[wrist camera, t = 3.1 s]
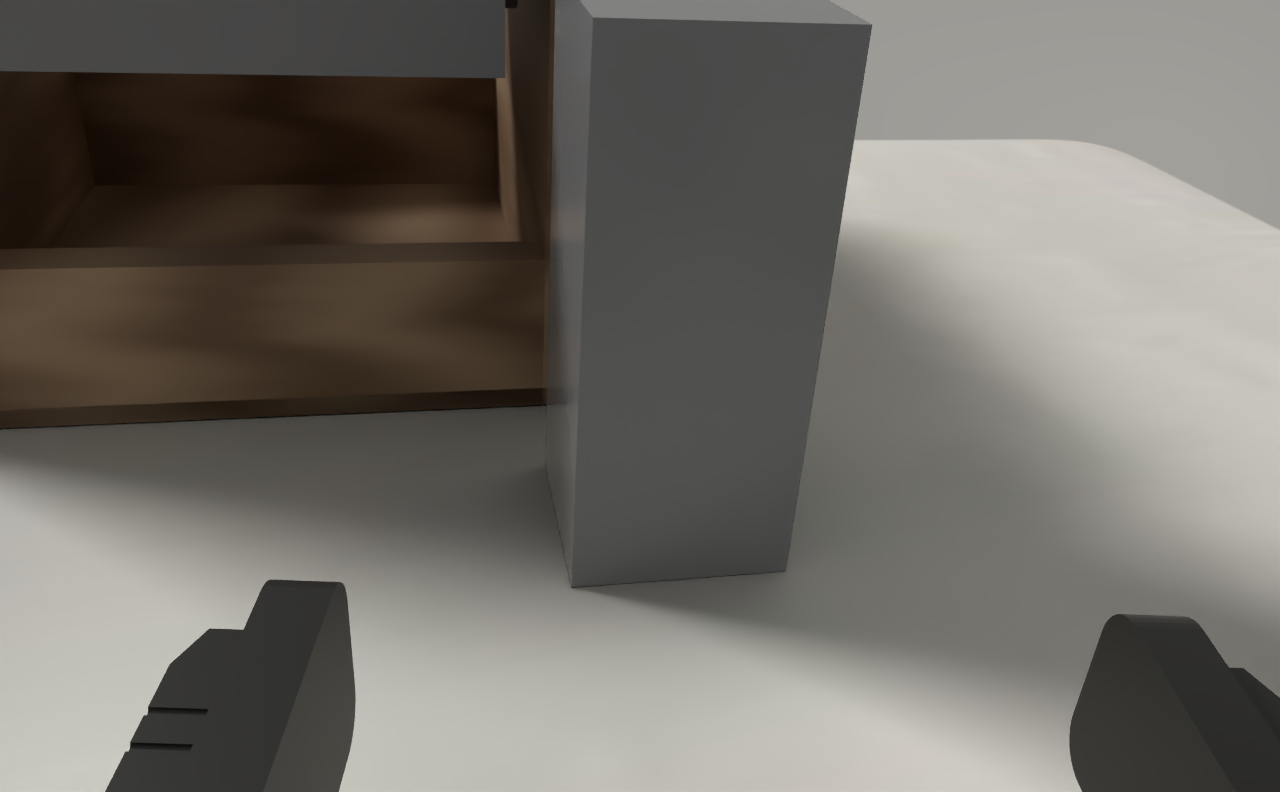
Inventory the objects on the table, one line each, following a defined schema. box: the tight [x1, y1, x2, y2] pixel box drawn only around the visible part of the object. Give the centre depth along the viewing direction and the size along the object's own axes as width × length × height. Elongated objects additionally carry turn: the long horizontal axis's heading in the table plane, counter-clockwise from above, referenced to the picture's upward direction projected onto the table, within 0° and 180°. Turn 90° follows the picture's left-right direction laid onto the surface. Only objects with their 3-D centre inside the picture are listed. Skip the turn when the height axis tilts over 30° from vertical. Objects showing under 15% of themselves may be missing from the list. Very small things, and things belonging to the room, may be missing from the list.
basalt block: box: [545, 0, 872, 587], centre depth 22 cm, size 4×4×11 cm
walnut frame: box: [0, 0, 555, 428], centre depth 31 cm, size 16×17×11 cm
